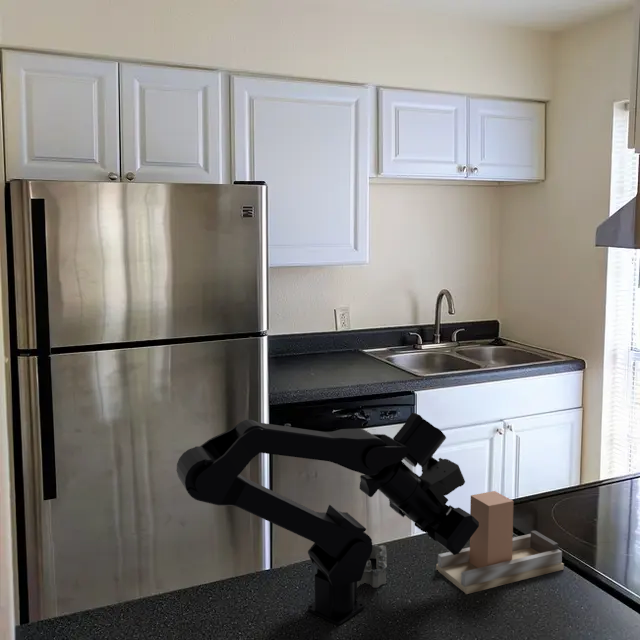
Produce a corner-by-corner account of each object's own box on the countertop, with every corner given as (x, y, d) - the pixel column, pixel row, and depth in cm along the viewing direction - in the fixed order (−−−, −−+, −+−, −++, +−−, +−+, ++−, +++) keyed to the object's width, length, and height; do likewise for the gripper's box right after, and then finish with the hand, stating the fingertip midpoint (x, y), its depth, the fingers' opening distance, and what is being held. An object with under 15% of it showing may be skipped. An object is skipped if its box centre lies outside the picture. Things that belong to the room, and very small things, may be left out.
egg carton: (344, 558, 120) (344, 536, 119) (386, 559, 119) (386, 537, 119) (341, 588, 109) (340, 565, 109) (387, 590, 109) (387, 566, 108)
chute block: (487, 575, 110) (488, 505, 109) (469, 562, 115) (470, 495, 114) (511, 569, 112) (513, 501, 111) (493, 556, 117) (494, 490, 116)
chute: (466, 594, 107) (466, 570, 106) (436, 569, 115) (436, 547, 114) (563, 569, 114) (564, 547, 114) (528, 547, 123) (529, 527, 122)
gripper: (469, 465, 98) (527, 524, 104) (404, 432, 115) (457, 484, 121) (422, 526, 96) (484, 582, 102) (364, 483, 113) (420, 533, 119)
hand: (461, 541), depth 111 cm, fingers closed
